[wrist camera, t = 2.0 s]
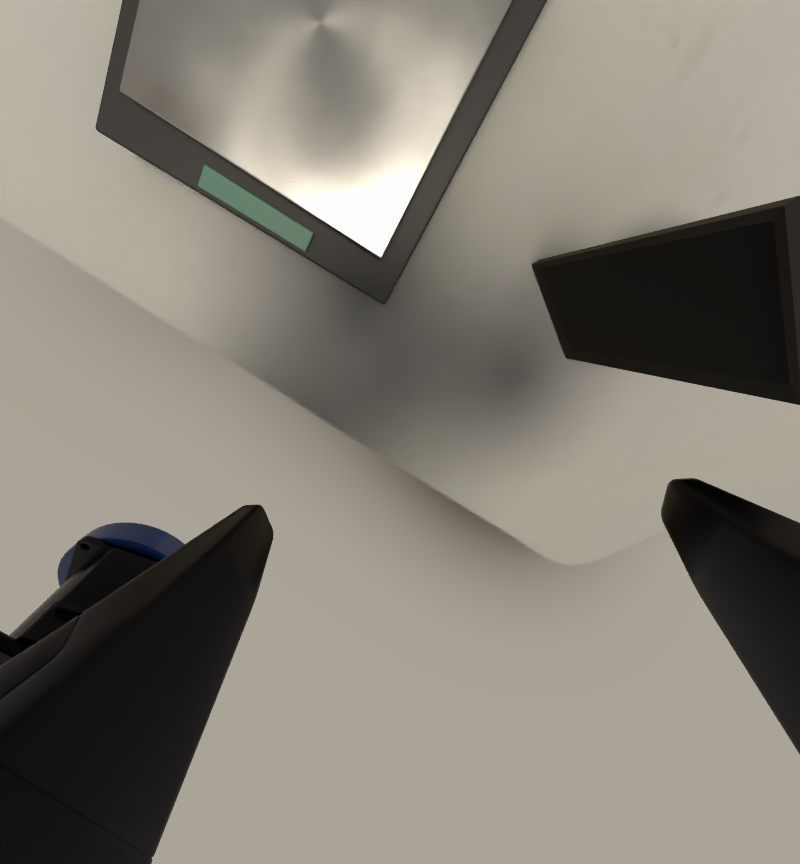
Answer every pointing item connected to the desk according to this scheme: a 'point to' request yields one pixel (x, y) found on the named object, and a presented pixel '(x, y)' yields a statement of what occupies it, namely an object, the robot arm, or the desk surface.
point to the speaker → (689, 302)
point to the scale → (314, 112)
